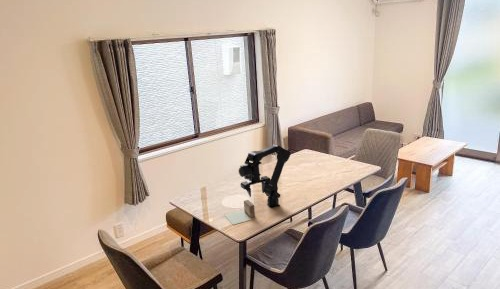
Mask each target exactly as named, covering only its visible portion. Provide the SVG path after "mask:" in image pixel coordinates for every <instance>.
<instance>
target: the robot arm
mask: <svg viewBox="0 0 500 289" xmlns="http://www.w3.org/2000/svg"><path fill="white" fill-rule="evenodd" d="M274 153H276V160H277V161H276V164H275V166H274V169H273V172H272V175H271V178H270V177H269V176H267V175H264V176H262V175H261V173H260V165H262V162H261V161H262V160H263V158H265V157H268V156H270V155H272V154H274ZM291 153H292V152H291V151H290V150H289V149H286V148H283V147H282V146H280V145H279V144H276V143H274V144H272V145H270V146H268V147H265V148H263V149H261V150H253V151H249V152H248V154H247V156H246V158H245V161H244V164H242V165H240V166H239V168H238V174H239V176H240V177H241V178H243V179H245V181H242V182H240V188H242V189H243V190H245V191H246V192H247V193H248V196H249V198H251V197H252V188H251V186H252V185H257V184H260V183H261V191H262V193H263V194H265V196H266V197H267V199H266V200H267V203H266V205H267V206H268V207H270V209H273V208H277V207H280V206H281V205H280V203H279V199H280V198H281V194H280V192H278V191H279V189H278V184H279V180H280V177H281V174H282V173H283V168H284V166H285V164H286V163H287V162H288V161H289V160H290V157H291ZM246 180H248V181H249V182H248V181H246Z"/></svg>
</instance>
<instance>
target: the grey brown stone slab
mask: <svg viewBox="0 0 500 289" xmlns="http://www.w3.org/2000/svg"><path fill="white" fill-rule="evenodd" d="M243 208H244V211H243V212H244V213H245V214H246V215H247V216H248V217H249V218H250V219H251V218H255V217H256V212H255V210H256V209H255V204H254V203H253V202H251V201H250V199H246V200H243Z"/></svg>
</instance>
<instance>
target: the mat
mask: <svg viewBox="0 0 500 289" xmlns="http://www.w3.org/2000/svg"><path fill="white" fill-rule="evenodd" d="M224 217H225V218H226V220H228V221H229V223H230V224H232V226H235V225H237V224H242V223H245V222H249V221H251V220H252V219H251V218H250V217H249V216H248V215H247V214H246V213H245V211H243V210H238V211H235V212H231V213H228V214H224Z"/></svg>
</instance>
